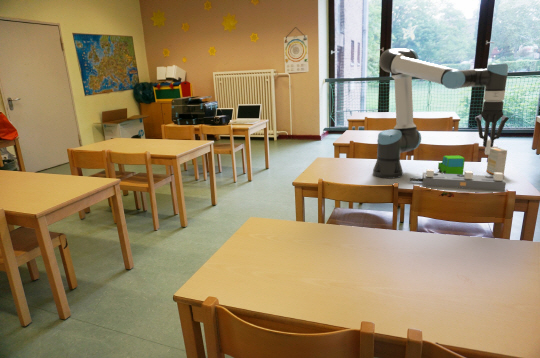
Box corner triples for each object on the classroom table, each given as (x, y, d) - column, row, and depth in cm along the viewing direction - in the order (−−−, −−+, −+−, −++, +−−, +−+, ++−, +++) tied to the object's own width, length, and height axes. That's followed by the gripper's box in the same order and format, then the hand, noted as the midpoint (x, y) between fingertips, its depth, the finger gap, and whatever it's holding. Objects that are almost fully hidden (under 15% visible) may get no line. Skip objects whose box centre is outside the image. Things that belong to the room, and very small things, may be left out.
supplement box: (504, 175, 186) (508, 150, 183) (494, 175, 187) (498, 150, 183) (495, 171, 194) (498, 147, 191) (485, 171, 194) (489, 147, 191)
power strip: (409, 185, 177) (410, 177, 176) (409, 179, 186) (410, 171, 185) (505, 191, 164) (507, 182, 163) (500, 184, 173) (501, 176, 172)
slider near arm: (426, 176, 175) (427, 170, 174) (426, 175, 177) (426, 169, 176) (433, 177, 174) (433, 171, 173) (432, 175, 176) (433, 169, 175)
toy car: (454, 170, 199) (456, 152, 196) (464, 177, 186) (466, 158, 183) (435, 170, 200) (436, 152, 197) (443, 177, 187) (445, 158, 185)
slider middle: (465, 178, 169) (465, 172, 168) (464, 177, 172) (464, 170, 171) (472, 179, 168) (473, 172, 167) (471, 177, 171) (472, 171, 170)
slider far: (494, 180, 165) (495, 174, 164) (493, 178, 168) (494, 172, 167) (502, 180, 164) (503, 174, 163) (500, 178, 167) (501, 172, 166)
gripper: (478, 101, 157) (472, 155, 163) (513, 101, 152) (505, 156, 159) (475, 100, 163) (469, 151, 170) (508, 99, 159) (501, 152, 166)
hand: (486, 154), depth 164 cm, fingers closed
